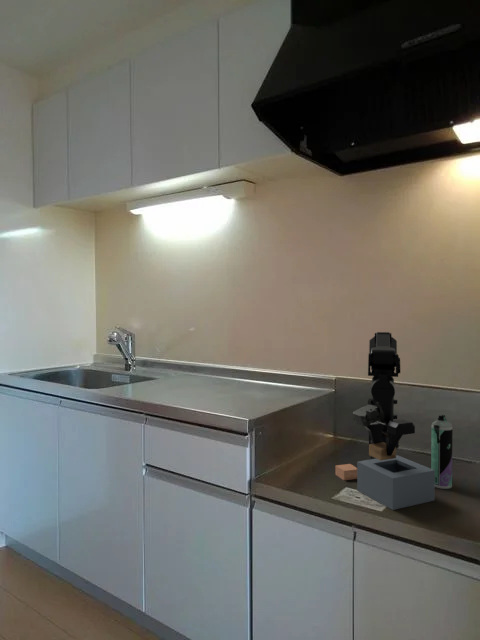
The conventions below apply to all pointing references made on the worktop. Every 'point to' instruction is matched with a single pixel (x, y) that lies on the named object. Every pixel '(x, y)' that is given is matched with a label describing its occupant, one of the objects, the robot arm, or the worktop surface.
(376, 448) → the brown square block
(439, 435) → the spray can
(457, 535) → the worktop surface
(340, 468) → the salmon square block
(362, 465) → the box
